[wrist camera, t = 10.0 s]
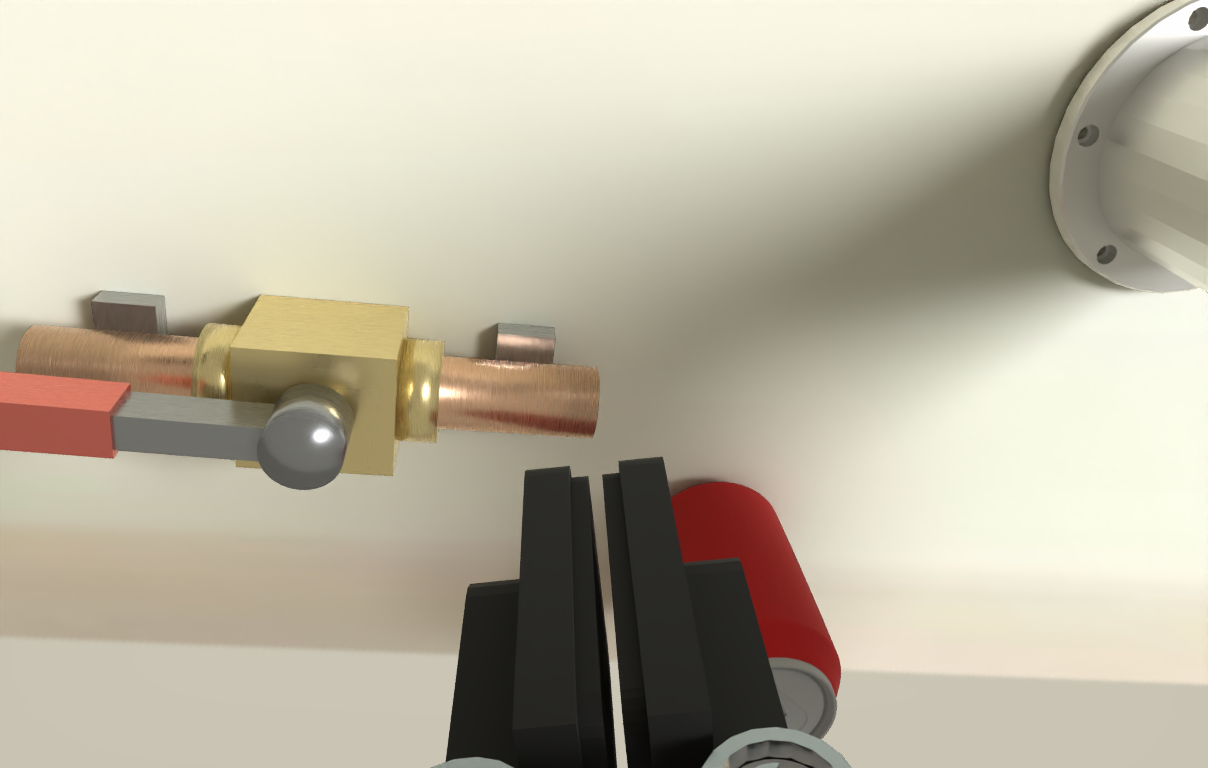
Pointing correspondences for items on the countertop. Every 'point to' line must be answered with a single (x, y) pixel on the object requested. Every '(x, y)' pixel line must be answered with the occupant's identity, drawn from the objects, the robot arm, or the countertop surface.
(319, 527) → the countertop surface
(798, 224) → the countertop surface
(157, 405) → the lever
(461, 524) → the countertop surface
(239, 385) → the pipework
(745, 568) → the beverage can
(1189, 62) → the robot arm
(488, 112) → the countertop surface
